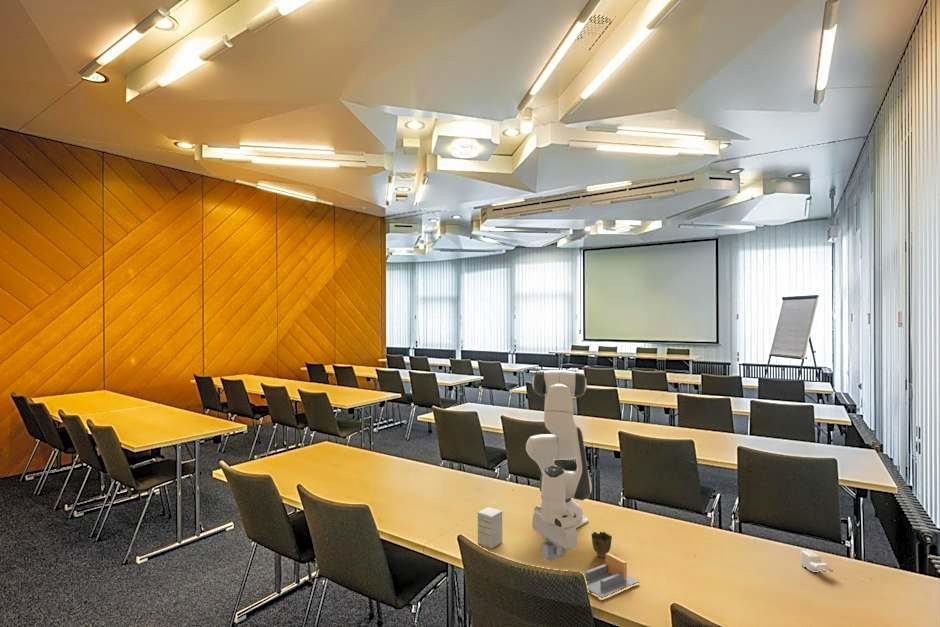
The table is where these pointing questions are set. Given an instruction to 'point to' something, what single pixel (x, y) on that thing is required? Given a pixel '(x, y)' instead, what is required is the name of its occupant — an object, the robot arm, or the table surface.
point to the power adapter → (813, 561)
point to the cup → (601, 543)
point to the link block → (550, 551)
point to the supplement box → (489, 527)
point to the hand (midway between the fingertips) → (553, 551)
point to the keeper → (609, 577)
